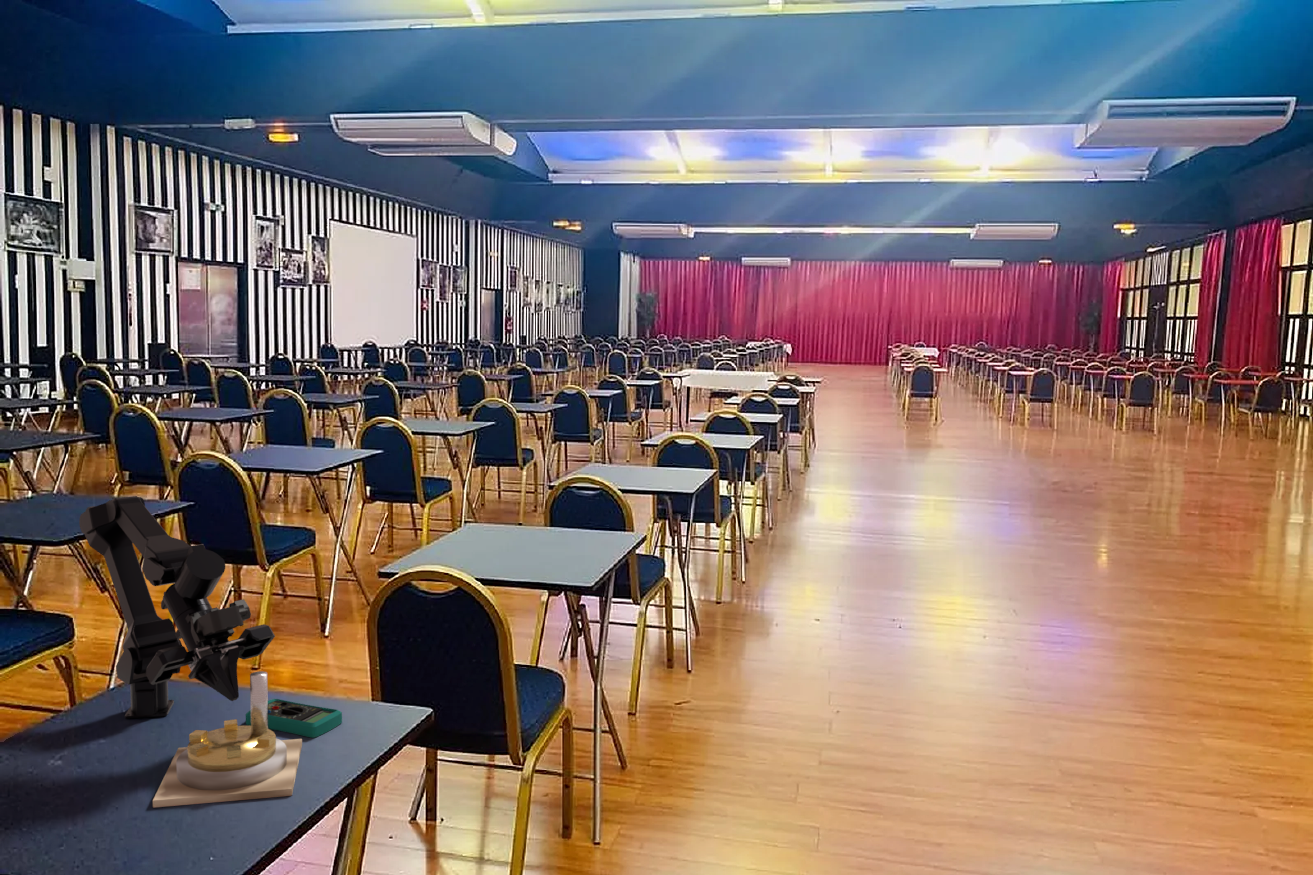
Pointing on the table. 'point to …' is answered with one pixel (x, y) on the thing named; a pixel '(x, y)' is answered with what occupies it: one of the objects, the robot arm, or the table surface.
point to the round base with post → (236, 737)
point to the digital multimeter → (300, 718)
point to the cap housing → (230, 779)
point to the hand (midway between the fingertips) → (235, 699)
